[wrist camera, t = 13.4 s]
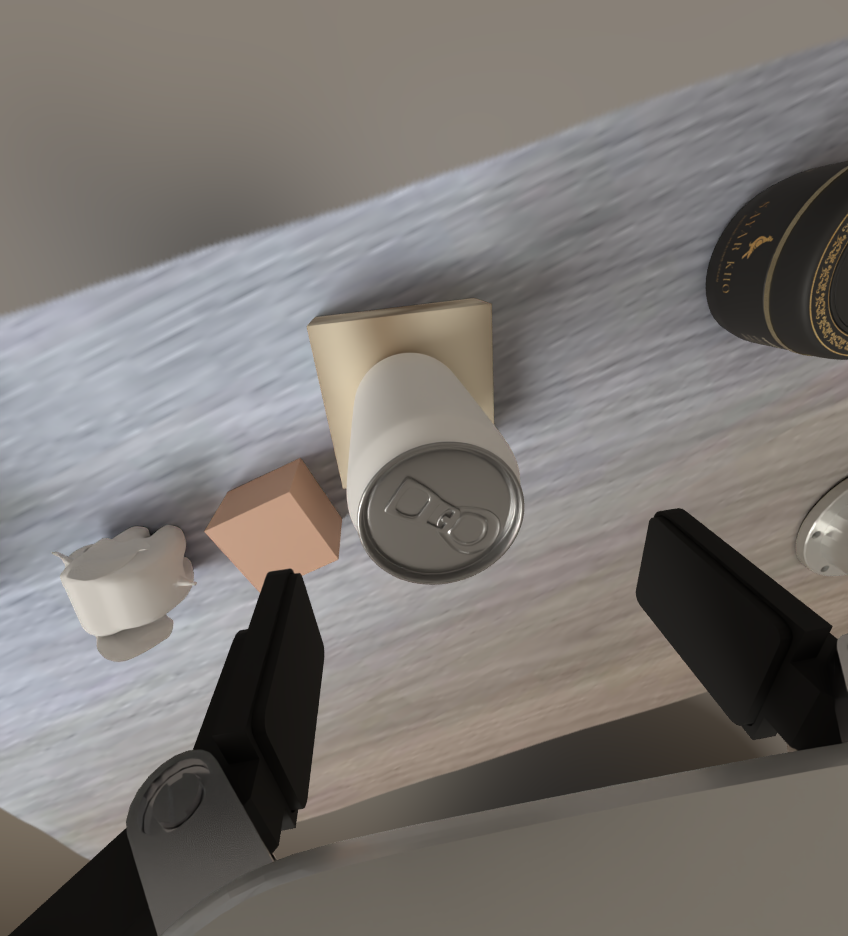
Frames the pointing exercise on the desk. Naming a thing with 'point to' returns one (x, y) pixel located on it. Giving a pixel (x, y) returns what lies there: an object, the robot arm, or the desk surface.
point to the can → (429, 474)
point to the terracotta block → (277, 524)
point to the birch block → (394, 332)
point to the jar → (787, 266)
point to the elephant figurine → (128, 588)
